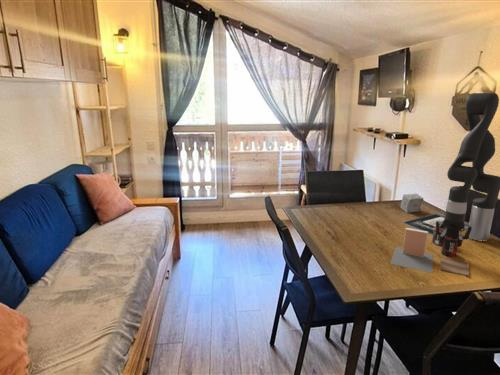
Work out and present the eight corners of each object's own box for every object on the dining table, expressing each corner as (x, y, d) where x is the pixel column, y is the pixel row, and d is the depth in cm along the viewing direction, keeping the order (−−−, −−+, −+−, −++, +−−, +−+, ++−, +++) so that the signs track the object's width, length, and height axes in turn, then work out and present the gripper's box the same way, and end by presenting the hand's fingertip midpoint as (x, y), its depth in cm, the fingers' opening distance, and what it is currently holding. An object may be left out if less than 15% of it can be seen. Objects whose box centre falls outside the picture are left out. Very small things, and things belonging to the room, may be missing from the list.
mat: (395, 248, 158) (395, 247, 158) (433, 255, 151) (433, 254, 150) (390, 264, 143) (390, 263, 143) (431, 273, 136) (432, 272, 135)
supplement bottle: (438, 247, 159) (442, 225, 156) (429, 242, 164) (432, 221, 161) (448, 245, 160) (452, 224, 157) (438, 240, 166) (442, 219, 163)
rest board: (440, 259, 147) (440, 257, 147) (467, 264, 143) (467, 262, 142) (440, 271, 137) (440, 269, 137) (468, 277, 133) (469, 275, 132)
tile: (402, 251, 154) (405, 227, 150) (424, 255, 149) (428, 231, 146) (402, 253, 152) (405, 229, 149) (424, 257, 148) (427, 232, 145)
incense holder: (407, 213, 203) (410, 197, 200) (399, 209, 210) (401, 193, 208) (422, 212, 204) (424, 196, 201) (413, 208, 212) (415, 192, 209)
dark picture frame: (402, 224, 189) (402, 221, 188) (437, 215, 201) (437, 212, 200) (437, 238, 170) (437, 234, 169) (473, 227, 182) (474, 224, 182)
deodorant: (450, 251, 154) (455, 222, 150) (458, 258, 148) (464, 227, 144) (438, 252, 154) (442, 222, 150) (445, 258, 148) (451, 227, 144)
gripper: (474, 210, 145) (468, 245, 149) (437, 205, 152) (432, 238, 156) (476, 215, 138) (469, 251, 143) (437, 210, 145) (431, 244, 150)
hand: (449, 244), depth 150 cm, fingers closed on deodorant, 6 cm apart
